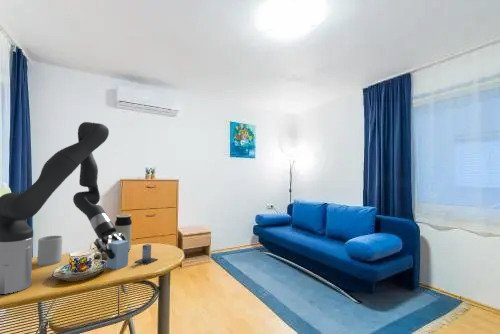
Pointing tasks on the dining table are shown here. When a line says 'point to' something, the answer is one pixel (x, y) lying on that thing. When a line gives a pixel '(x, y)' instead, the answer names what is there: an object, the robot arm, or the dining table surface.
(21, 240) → the robot arm
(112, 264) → the blue rectangular block
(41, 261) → the mug
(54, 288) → the dining table surface
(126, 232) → the travel mug
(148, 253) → the post
